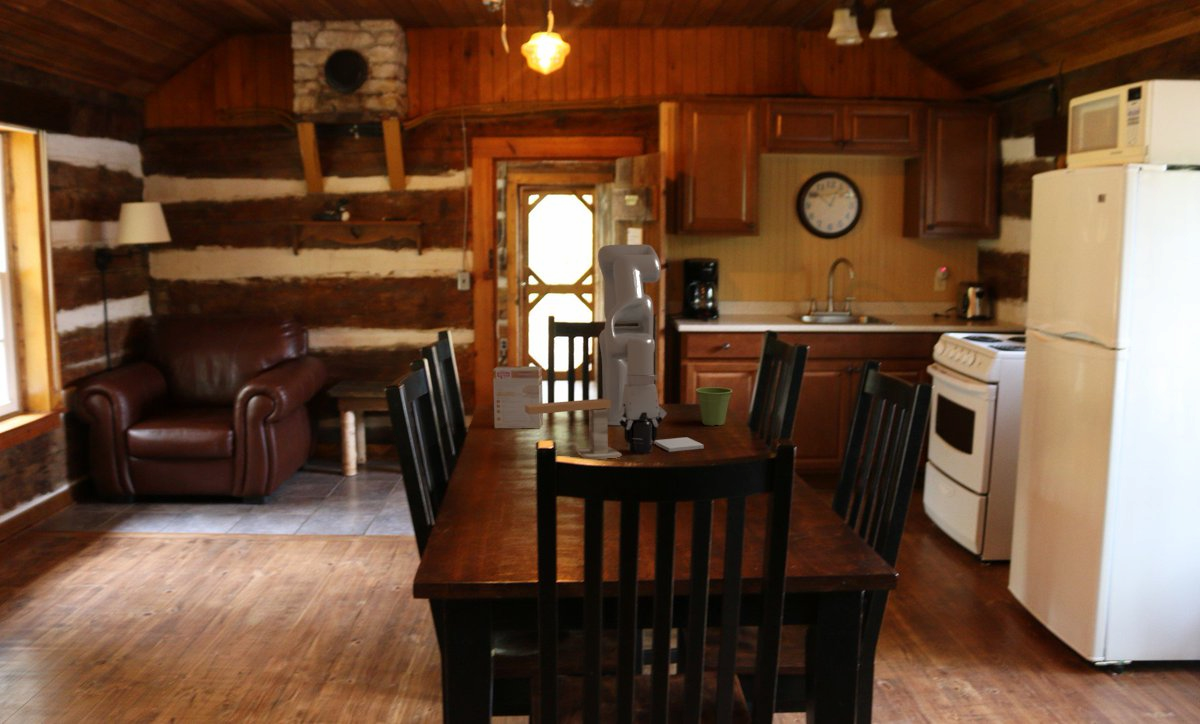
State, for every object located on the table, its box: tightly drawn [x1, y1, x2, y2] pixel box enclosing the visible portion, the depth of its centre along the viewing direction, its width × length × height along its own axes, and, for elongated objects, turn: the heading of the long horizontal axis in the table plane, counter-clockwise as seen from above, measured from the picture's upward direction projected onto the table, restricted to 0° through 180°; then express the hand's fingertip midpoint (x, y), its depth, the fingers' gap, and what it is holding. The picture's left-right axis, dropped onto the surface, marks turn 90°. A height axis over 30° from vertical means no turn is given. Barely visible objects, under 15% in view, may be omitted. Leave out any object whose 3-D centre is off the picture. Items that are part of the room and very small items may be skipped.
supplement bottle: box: [628, 412, 653, 454], centre depth 286 cm, size 7×7×12 cm
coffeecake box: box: [492, 365, 544, 430], centre depth 321 cm, size 15×7×20 cm, turn 84°
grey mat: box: [653, 436, 704, 453], centre depth 293 cm, size 11×11×1 cm
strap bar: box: [525, 398, 611, 415], centre depth 277 cm, size 4×24×2 cm, turn 111°
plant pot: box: [695, 386, 733, 427], centre depth 323 cm, size 12×12×11 cm
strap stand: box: [575, 408, 623, 461], centre depth 281 cm, size 10×10×14 cm
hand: (640, 440), depth 286 cm, fingers closed on supplement bottle, 6 cm apart
